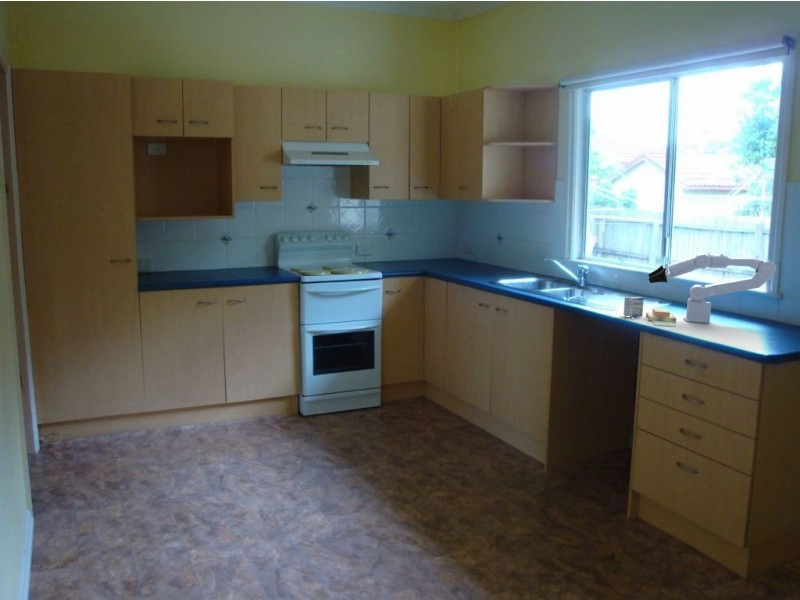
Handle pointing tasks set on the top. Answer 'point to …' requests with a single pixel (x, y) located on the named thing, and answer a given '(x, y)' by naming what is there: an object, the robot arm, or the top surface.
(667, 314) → the salmon pink flat block
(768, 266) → the robot arm
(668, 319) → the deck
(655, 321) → the mat
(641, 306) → the medicine box
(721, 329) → the top surface
